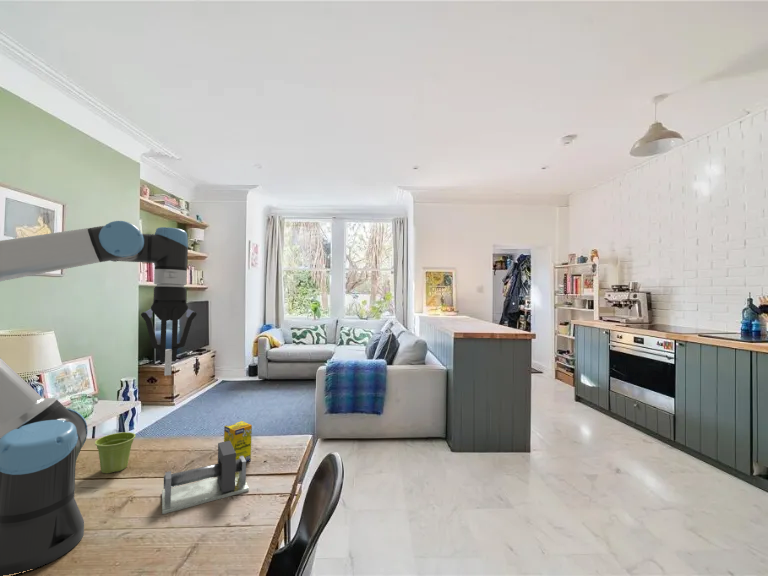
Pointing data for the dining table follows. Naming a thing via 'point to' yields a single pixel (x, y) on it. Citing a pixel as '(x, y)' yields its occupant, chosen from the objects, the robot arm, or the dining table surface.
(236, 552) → the dining table surface
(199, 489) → the pipe jig
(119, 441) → the plant pot
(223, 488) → the grey slider block
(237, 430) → the supplement box
